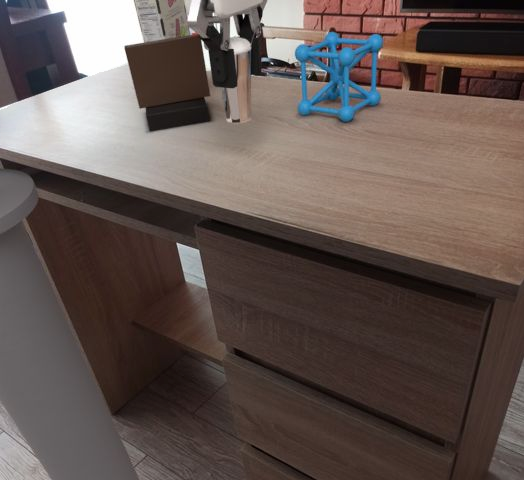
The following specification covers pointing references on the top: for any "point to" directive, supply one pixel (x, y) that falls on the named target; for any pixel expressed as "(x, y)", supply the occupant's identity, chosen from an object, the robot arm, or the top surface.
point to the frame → (168, 70)
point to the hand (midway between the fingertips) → (237, 78)
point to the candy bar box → (162, 19)
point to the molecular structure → (339, 74)
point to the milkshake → (239, 84)
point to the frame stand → (177, 114)
